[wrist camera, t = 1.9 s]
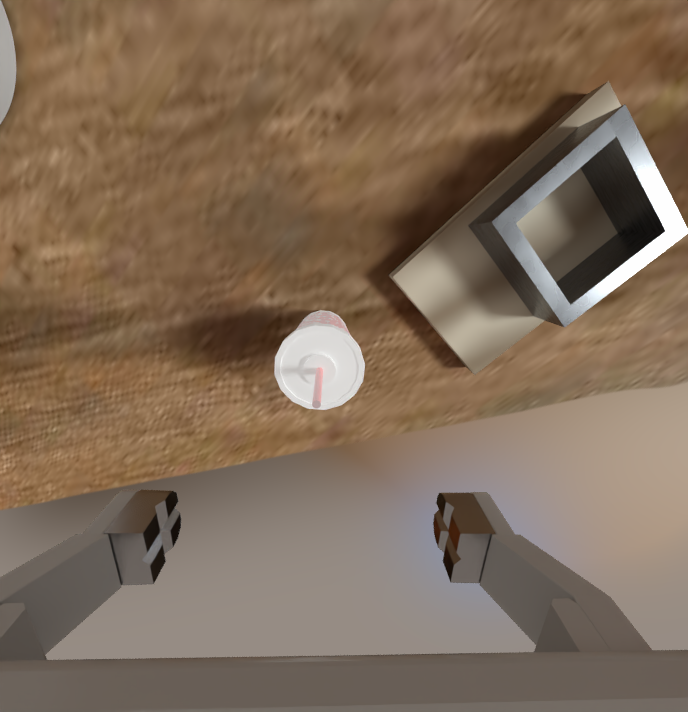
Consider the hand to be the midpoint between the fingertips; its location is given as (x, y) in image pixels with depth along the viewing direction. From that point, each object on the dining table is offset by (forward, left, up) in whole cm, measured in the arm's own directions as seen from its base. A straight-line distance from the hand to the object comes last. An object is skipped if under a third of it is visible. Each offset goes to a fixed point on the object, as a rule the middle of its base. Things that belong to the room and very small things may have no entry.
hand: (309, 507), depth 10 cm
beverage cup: (0, 0, -21) cm, 21 cm away
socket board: (+6, +18, -21) cm, 28 cm away
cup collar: (+6, +20, -19) cm, 28 cm away
